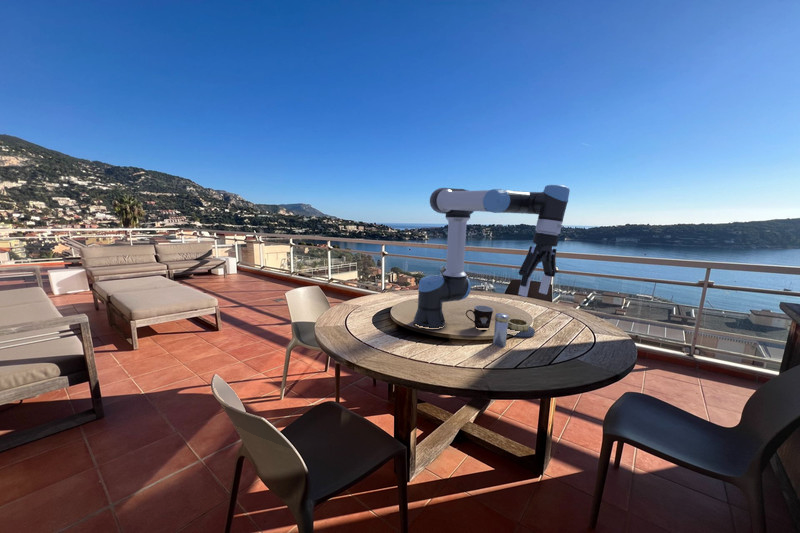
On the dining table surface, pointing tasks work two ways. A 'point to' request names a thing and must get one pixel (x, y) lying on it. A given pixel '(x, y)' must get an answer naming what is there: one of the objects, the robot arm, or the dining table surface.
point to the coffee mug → (482, 316)
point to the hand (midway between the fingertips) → (533, 294)
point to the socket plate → (526, 334)
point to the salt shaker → (500, 329)
